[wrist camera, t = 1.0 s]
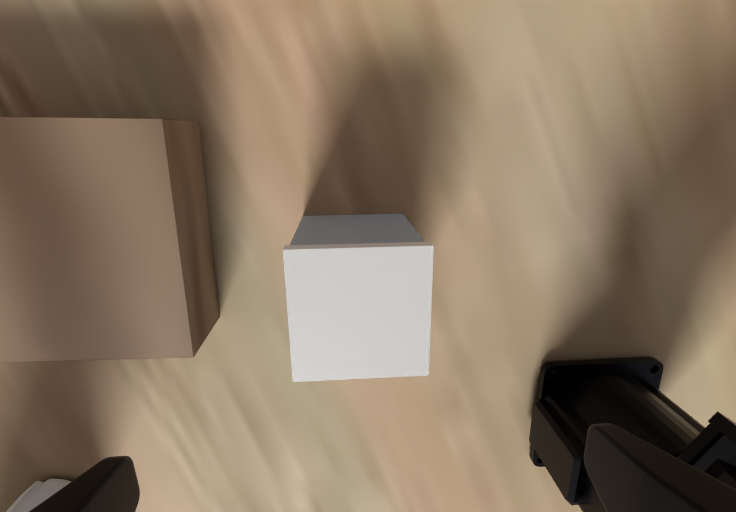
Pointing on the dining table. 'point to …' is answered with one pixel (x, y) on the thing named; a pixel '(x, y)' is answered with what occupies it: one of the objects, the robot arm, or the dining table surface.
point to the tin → (358, 297)
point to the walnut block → (103, 240)
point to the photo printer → (37, 494)
